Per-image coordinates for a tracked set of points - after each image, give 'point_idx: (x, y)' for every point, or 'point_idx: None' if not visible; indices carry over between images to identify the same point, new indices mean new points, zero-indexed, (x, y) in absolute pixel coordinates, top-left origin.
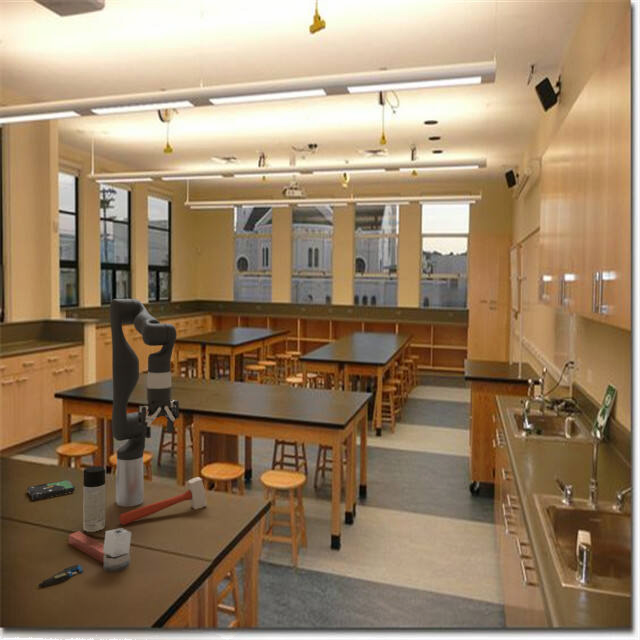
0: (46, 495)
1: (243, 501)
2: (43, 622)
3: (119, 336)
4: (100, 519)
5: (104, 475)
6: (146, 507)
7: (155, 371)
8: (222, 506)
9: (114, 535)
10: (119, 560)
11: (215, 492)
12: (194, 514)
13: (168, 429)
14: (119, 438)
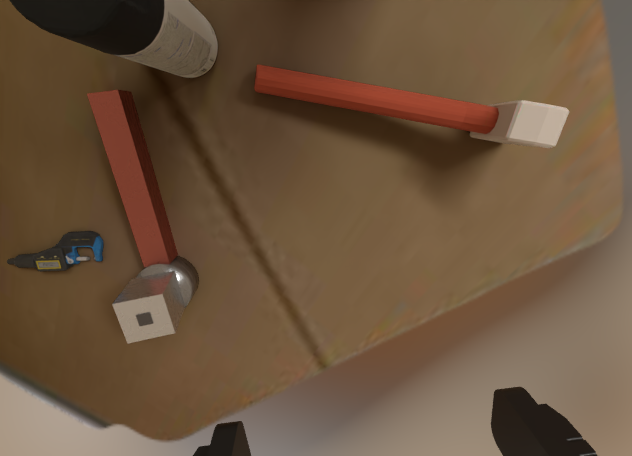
0: None
1: (590, 185)
2: (15, 362)
3: None
4: (186, 73)
5: (133, 27)
6: (336, 98)
7: None
8: (529, 173)
9: (125, 337)
10: None
11: (606, 59)
12: (444, 166)
13: (511, 432)
14: None
